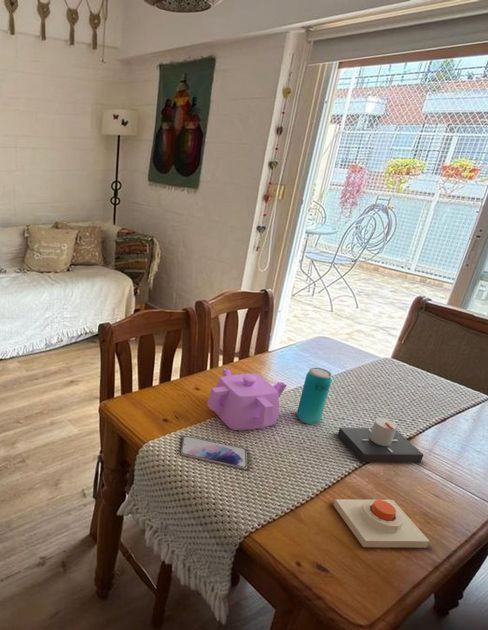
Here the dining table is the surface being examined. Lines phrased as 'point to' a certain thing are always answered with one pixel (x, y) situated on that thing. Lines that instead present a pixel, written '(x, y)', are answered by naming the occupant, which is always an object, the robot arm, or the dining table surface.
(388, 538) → the block
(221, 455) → the smartphone
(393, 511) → the button
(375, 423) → the timer knob
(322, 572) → the dining table surface
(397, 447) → the panel
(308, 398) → the beverage can
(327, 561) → the dining table surface
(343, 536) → the dining table surface
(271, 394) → the teakettle
